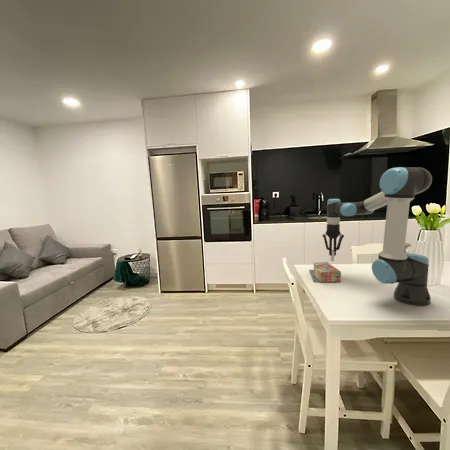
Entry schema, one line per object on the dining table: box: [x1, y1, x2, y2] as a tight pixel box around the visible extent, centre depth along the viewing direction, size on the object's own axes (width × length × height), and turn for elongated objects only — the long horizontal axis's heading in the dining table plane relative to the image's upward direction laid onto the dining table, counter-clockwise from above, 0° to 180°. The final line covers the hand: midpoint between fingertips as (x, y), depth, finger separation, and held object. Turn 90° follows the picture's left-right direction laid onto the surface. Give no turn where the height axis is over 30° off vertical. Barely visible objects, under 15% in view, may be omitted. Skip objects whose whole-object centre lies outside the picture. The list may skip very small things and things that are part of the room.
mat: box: [308, 269, 338, 284], centre depth 174 cm, size 24×13×1 cm, turn 169°
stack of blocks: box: [313, 261, 342, 283], centre depth 173 cm, size 21×6×12 cm
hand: (332, 260), depth 172 cm, fingers closed
